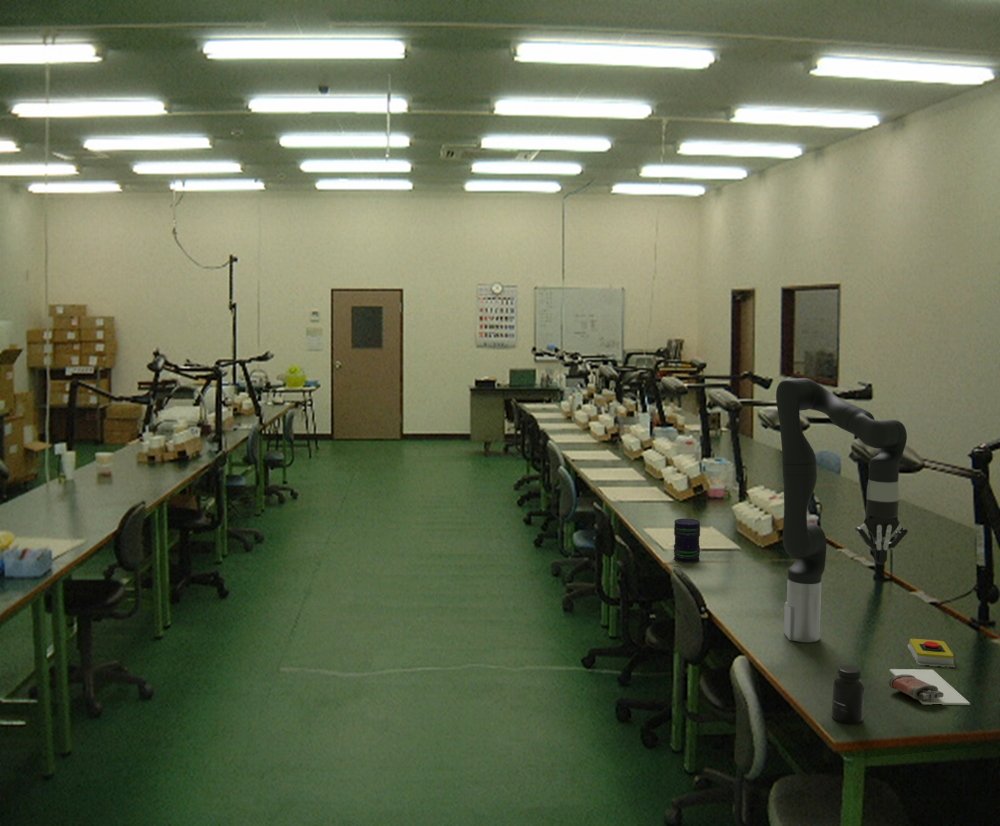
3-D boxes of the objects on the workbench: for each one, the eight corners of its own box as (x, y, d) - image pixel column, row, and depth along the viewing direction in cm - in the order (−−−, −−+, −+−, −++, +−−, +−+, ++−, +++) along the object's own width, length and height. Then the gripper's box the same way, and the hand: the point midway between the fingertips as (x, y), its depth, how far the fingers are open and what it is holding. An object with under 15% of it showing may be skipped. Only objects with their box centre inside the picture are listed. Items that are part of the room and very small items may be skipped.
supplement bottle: (831, 722, 199) (832, 672, 198) (831, 709, 206) (832, 661, 204) (863, 727, 197) (865, 676, 196) (862, 714, 203) (864, 664, 202)
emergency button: (918, 650, 232) (906, 631, 246) (917, 666, 232) (906, 646, 246) (956, 653, 229) (942, 634, 244) (955, 669, 230) (942, 649, 244)
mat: (922, 704, 208) (922, 702, 208) (889, 670, 228) (889, 669, 228) (969, 705, 208) (969, 703, 208) (932, 671, 227) (932, 669, 227)
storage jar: (699, 556, 340) (700, 519, 338) (699, 563, 330) (700, 524, 329) (673, 555, 342) (674, 518, 340) (673, 562, 332) (673, 523, 331)
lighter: (888, 689, 215) (921, 705, 206) (889, 675, 215) (922, 691, 205) (912, 686, 218) (946, 702, 209) (913, 673, 218) (947, 688, 208)
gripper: (903, 494, 227) (900, 559, 228) (851, 494, 227) (848, 559, 229) (915, 500, 219) (912, 567, 221) (861, 500, 220) (859, 567, 222)
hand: (879, 563), depth 225 cm, fingers closed
